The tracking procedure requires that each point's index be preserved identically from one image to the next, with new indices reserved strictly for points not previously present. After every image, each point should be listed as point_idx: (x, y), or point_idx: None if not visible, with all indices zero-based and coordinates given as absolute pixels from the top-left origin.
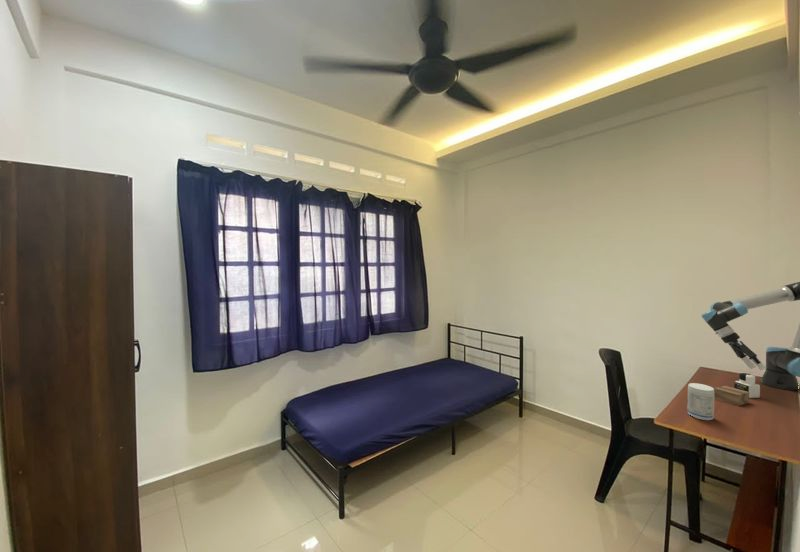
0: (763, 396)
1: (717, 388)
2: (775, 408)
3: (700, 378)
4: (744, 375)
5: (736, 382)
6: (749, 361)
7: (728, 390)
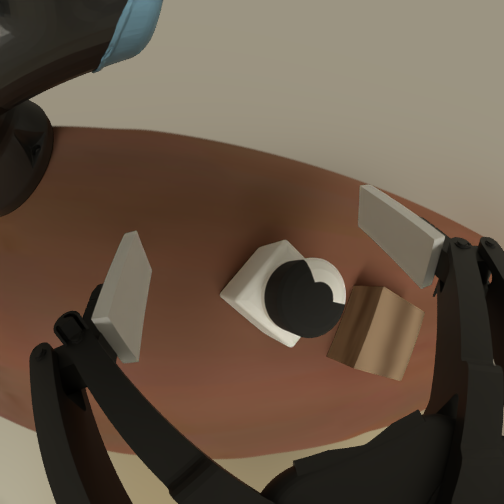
0: (226, 230)
1: (399, 373)
2: (354, 217)
3: (116, 443)
4: (342, 311)
5: (298, 337)
6: (127, 282)
7: (402, 344)
